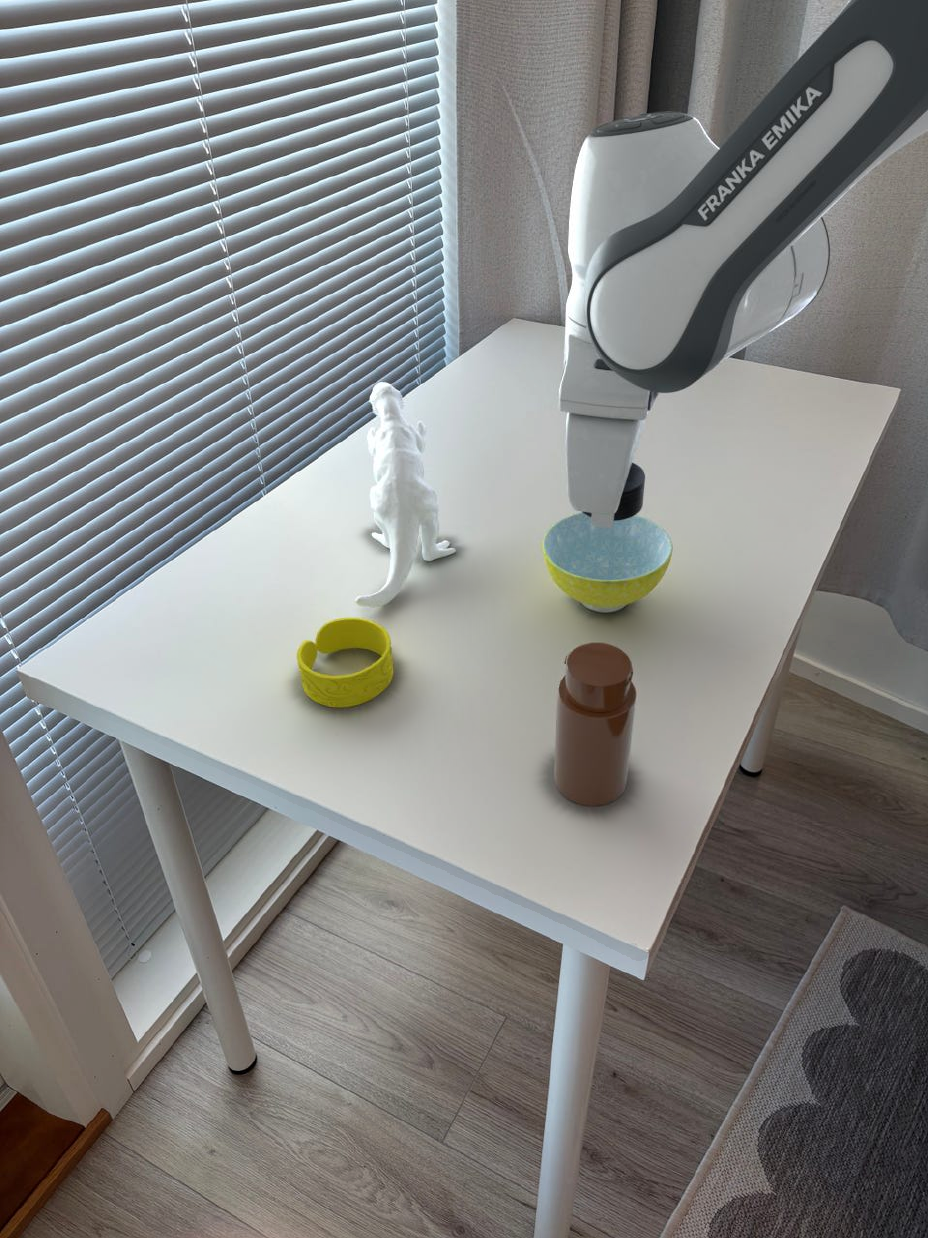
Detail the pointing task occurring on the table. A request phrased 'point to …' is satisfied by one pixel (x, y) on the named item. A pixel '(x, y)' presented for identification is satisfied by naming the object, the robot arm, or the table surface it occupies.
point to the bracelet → (353, 685)
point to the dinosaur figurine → (400, 493)
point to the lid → (630, 494)
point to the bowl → (606, 560)
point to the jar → (594, 724)
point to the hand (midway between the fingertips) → (610, 501)
